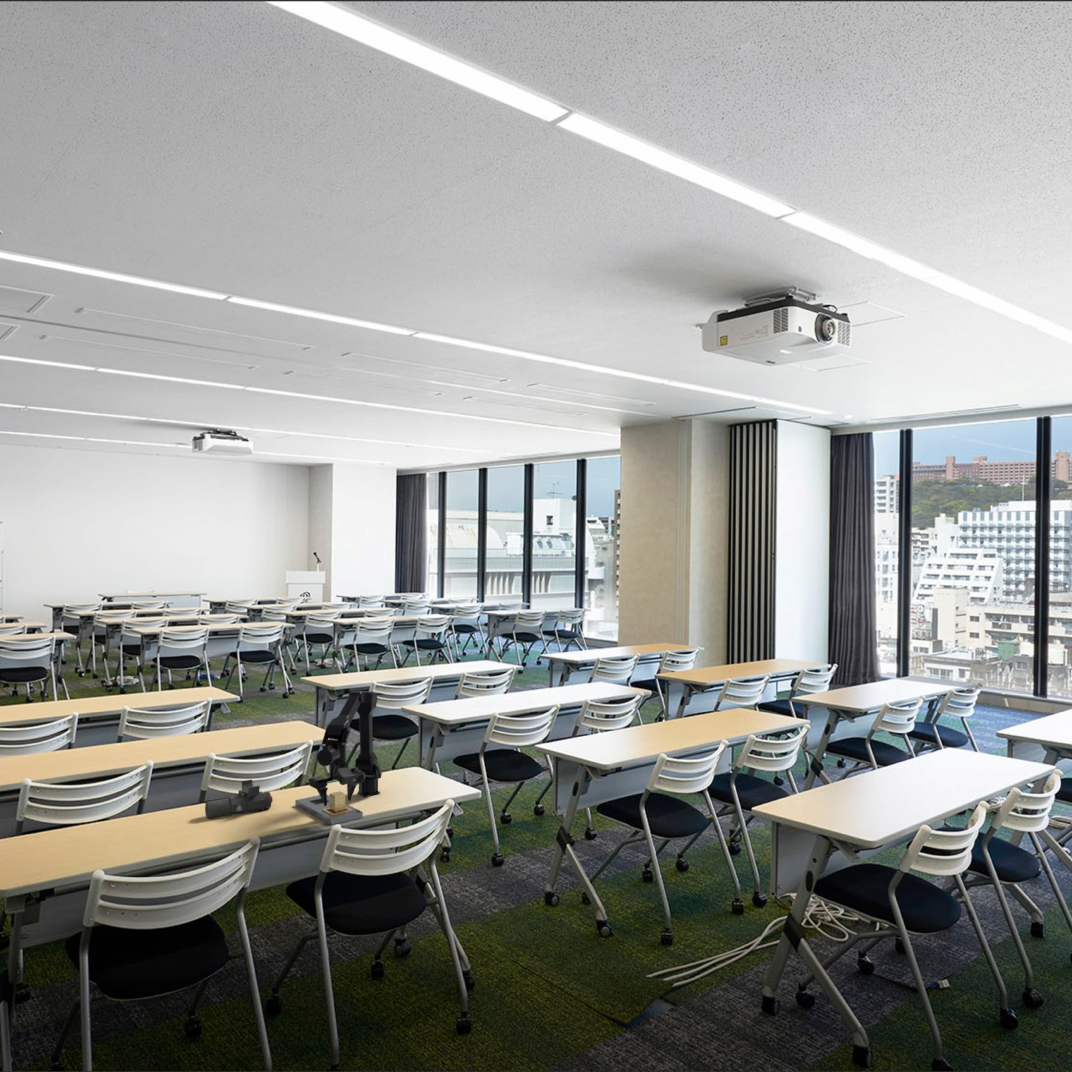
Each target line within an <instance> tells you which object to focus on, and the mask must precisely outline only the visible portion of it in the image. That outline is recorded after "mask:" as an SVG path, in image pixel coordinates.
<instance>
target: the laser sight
mask: <svg viewBox="0 0 1072 1072" xmlns="http://www.w3.org/2000/svg"><path fill="white" fill-rule="evenodd" d="M240 783H241V789H240V790H238V794H237V795H230V796H228V797H227V798H223V799H216V800H211V801H206V802H205V806H204V811H205V812H204V813H205V816H206V819H211V818H212V819H213V818H218V817H223V816H235V815H241V814H242V815H243V814H247V813H254V812H259V811H264V809H270V808H272V803H273V796H272V794H271V793H270V791H264V792H263V791H260V787H261V785H254V783H253V779H247V780H246V779H245V780H241V782H240Z"/></svg>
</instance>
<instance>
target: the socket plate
mask: <svg viewBox="0 0 1072 1072" xmlns="http://www.w3.org/2000/svg"><path fill="white" fill-rule="evenodd" d="M294 805H295V807H297V808H299V809H300V810H303V811H304V812H307V813H308V814H310V815H312V816H314V817H316V818H318V819H319V820H321V821H323V822H324V823H326V824H328V825H330V826H332V825H333V826H334V825H336V824H335V823H338V824H341V823H346V822H350V821H354V820H359V819H363V818H364V817H363V814H364V812H363V811H361V810H359V809H357V808H356V807H353V806H351V805H349V804H347V803H345V811H343V812H339V813H334V814H333V813H332V812H330V794H327V806H324V804H323V801H322V799H321V797H320V794H318V795H314V796H309V797H304V798H298V799H295V804H294Z"/></svg>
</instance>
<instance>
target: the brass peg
mask: <svg viewBox="0 0 1072 1072" xmlns="http://www.w3.org/2000/svg"><path fill="white" fill-rule="evenodd" d="M329 796H330V812H332V813H333V814H334V813H339V812H343V811H345V804H346V793H345V792H342V791H339V790H338V791H335V792H330V793H329Z"/></svg>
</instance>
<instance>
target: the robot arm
mask: <svg viewBox="0 0 1072 1072" xmlns="http://www.w3.org/2000/svg"><path fill="white" fill-rule="evenodd" d="M378 699H379V697H378V695H377V693H375V691H366V690H365V691H364V690H357V691H350V692H349V694H348V698H347V699H346V702H345V703H344V705H343V707H342V708H341V710H340V713H339V714H338V715H337V717H335V718H333V719H331V721H330V722H329V723H328V725H327V726H326V727H325V731H324V735H323V738H322V741H321V745H322V749H320V750H319V751H318V753H317V755H316V759H317V762H318V763H319V765H321V766H323V767H327V766H328V769H329V772H327V776H328V777H324V776H322V775H319V776H314V777H311V778H310V780H309V787H311V788H313V789H315V790H317V793H318V795H320V797H321V799H322V801H323V804H324V806H327V795H328V794H327V792H328V787H327V786H328V784H332V783H336V782H338V783H339V784H340V785H341V786H346V790H347V791H346V793H347V801H349V802H351V800H352V798H353V796H354V792H355V789H356V787H357V786H358V791H357V794H359V795H361V796H363V797H369V796H370V797H371V796H375V795H379V794H381V792H380V791H379V779H381V778H382V776H383V775H382V774H383V770H382V767H381V766H380V764H379V763H378V762H379V761H378V760H379V759H378V756H377V755H376V754H375V752H374V740H373V739H374V737H373V735H374V733H373V732H374V731H373V713H374V712H375V710H376V708H377V703H378ZM356 713H357V714H358V716H359V754H358V756H357V758H355V761H354V762H355V763H354V767H351V768H349V762H348V761H347V744H348V742H349V741H348V739H349V738H350V734H351V729H352V728H351V727H350V725H351V722H352V720H353V719H354V716H355V715H356Z"/></svg>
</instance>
